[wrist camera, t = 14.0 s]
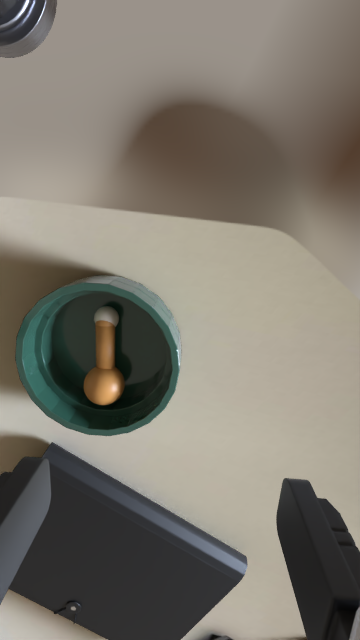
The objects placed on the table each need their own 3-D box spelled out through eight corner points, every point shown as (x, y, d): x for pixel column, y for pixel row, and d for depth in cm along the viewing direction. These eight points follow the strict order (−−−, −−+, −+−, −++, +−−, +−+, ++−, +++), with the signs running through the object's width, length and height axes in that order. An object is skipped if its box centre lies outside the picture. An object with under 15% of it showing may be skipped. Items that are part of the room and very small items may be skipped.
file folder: (-37, 570, 45) (43, 455, 40) (-18, 543, 49) (56, 435, 44) (153, 667, 50) (249, 574, 44) (156, 635, 54) (244, 546, 48)
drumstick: (90, 302, 38) (74, 312, 33) (130, 305, 37) (119, 315, 33) (92, 390, 41) (77, 411, 36) (128, 394, 41) (118, 415, 36)
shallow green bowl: (36, 270, 37) (7, 277, 32) (185, 279, 37) (184, 288, 31) (45, 402, 42) (21, 429, 36) (177, 412, 42) (175, 441, 36)
